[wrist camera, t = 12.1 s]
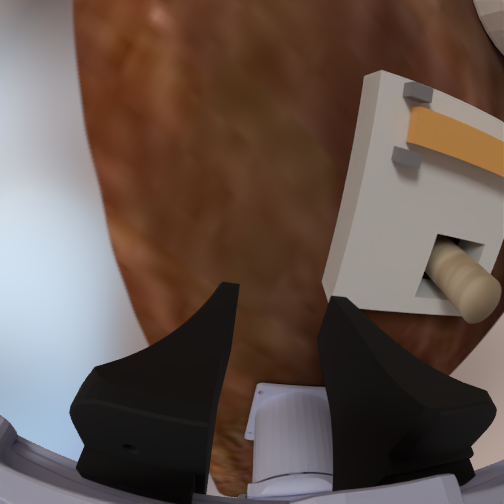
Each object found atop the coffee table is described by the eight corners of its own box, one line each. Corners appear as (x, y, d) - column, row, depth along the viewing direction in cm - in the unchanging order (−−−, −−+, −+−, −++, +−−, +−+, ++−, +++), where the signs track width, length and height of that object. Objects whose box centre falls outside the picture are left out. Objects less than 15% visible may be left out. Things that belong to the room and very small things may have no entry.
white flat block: (454, 296, 22) (478, 325, 18) (321, 281, 22) (332, 316, 18) (503, 131, 16) (539, 139, 12) (364, 76, 16) (389, 67, 12)
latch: (506, 178, 15) (517, 182, 13) (406, 141, 15) (414, 143, 13) (512, 149, 14) (523, 152, 13) (411, 106, 14) (421, 106, 13)
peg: (454, 235, 20) (508, 281, 14) (440, 271, 21) (487, 324, 15) (423, 228, 20) (476, 275, 13) (410, 266, 21) (454, 322, 15)
